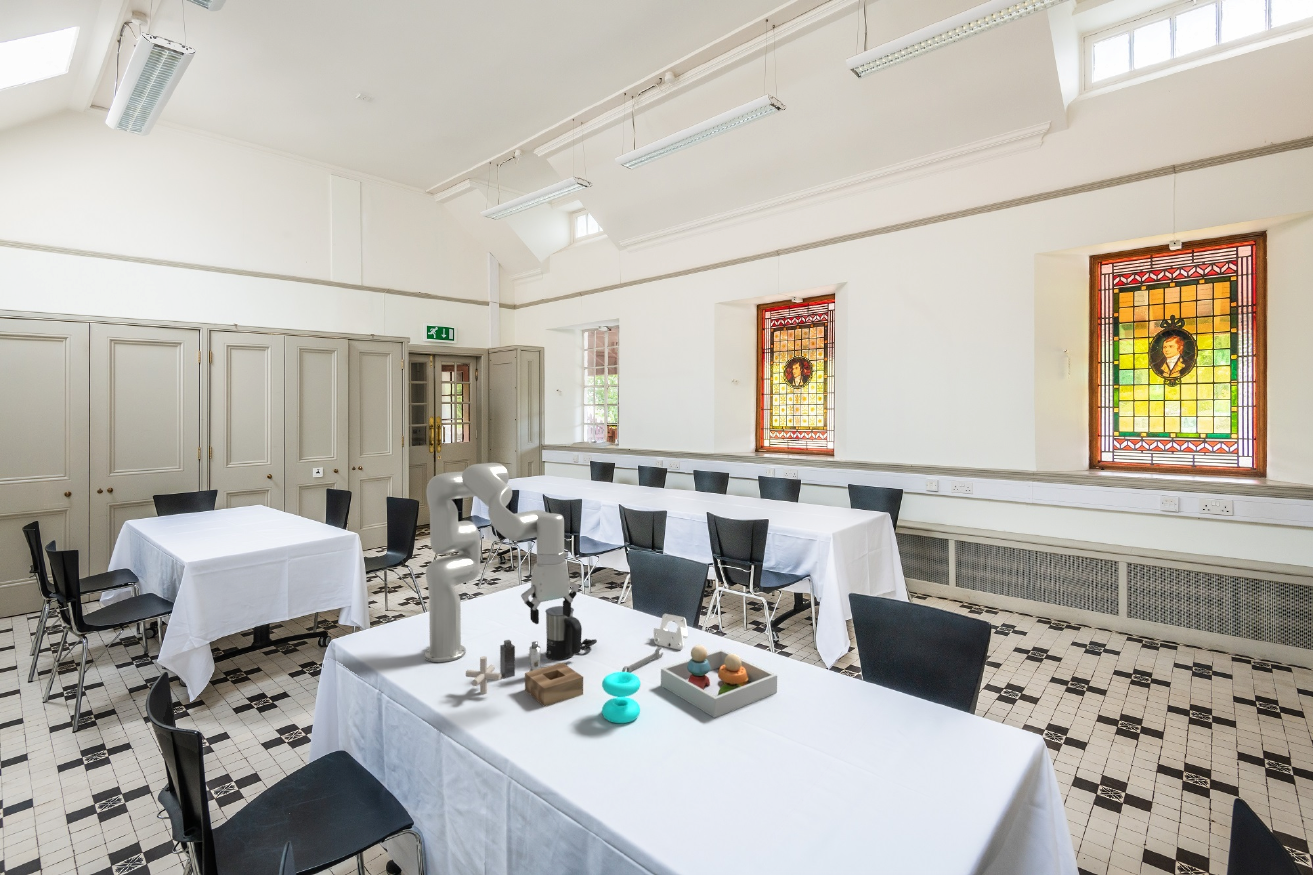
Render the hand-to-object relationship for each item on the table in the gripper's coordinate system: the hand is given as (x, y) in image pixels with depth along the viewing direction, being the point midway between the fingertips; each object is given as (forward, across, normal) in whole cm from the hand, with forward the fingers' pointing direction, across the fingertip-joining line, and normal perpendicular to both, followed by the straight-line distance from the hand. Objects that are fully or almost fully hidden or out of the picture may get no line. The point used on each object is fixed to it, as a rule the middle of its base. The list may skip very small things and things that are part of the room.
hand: (551, 619), depth 169 cm
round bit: (+21, -1, -13) cm, 25 cm away
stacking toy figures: (+22, -41, +24) cm, 53 cm away
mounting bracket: (+22, -51, -10) cm, 56 cm away
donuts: (+22, -9, +21) cm, 32 cm away
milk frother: (+21, -19, -23) cm, 37 cm away
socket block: (+21, -1, -1) cm, 21 cm away
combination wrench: (+22, -32, 0) cm, 39 cm away
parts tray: (+22, -40, +25) cm, 52 cm away
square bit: (+21, +5, -19) cm, 29 cm away
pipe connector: (+21, +15, -12) cm, 29 cm away
